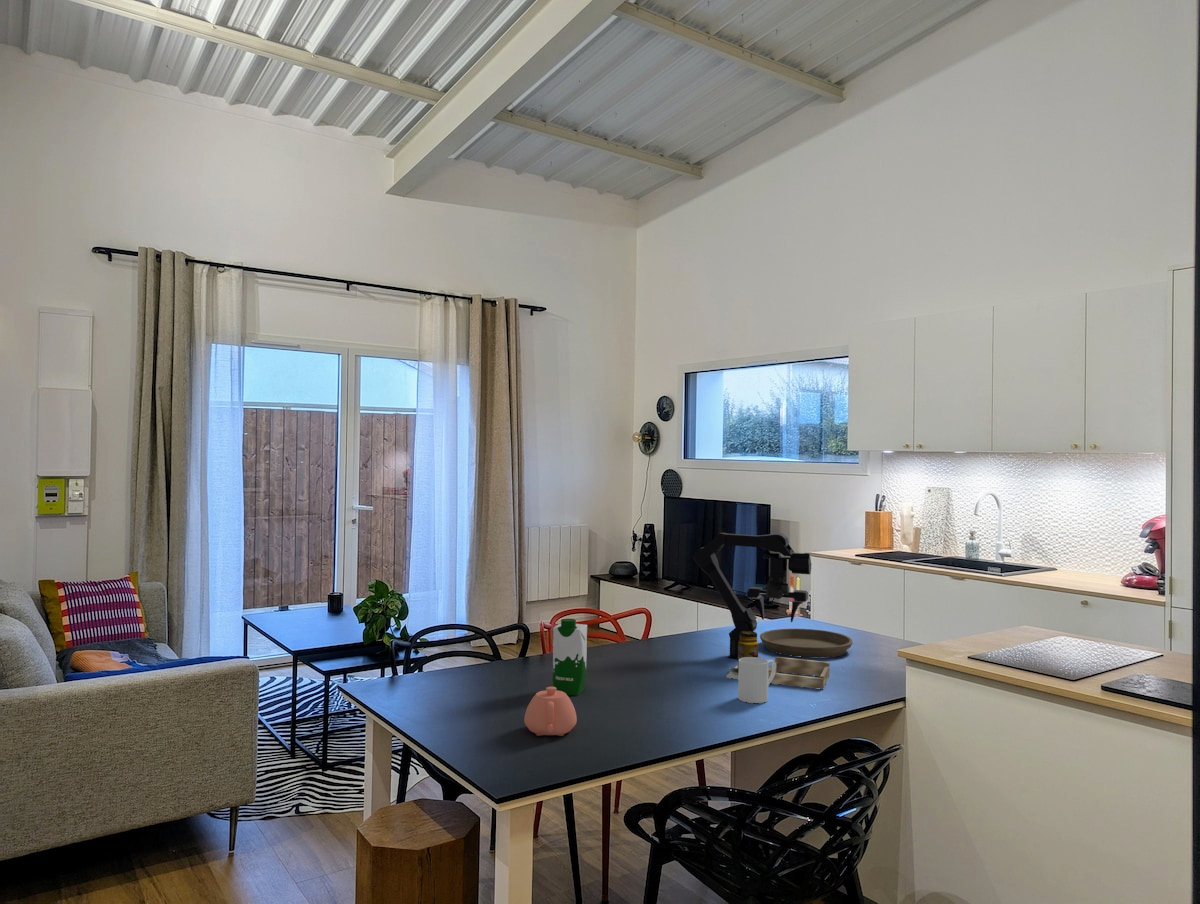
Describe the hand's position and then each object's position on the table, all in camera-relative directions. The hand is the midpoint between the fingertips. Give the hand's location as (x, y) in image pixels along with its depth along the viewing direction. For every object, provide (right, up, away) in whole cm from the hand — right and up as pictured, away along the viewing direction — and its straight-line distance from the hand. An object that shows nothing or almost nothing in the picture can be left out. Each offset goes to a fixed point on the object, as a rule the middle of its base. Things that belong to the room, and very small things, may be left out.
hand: (777, 620), depth 263 cm
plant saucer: (+14, -14, +18) cm, 26 cm away
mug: (-14, -12, -43) cm, 47 cm away
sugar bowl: (-69, -11, -74) cm, 101 cm away
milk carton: (-66, -12, -39) cm, 77 cm away
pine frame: (+1, -13, -23) cm, 27 cm away
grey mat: (-13, -13, -18) cm, 25 cm away
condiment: (-14, -12, -17) cm, 25 cm away
